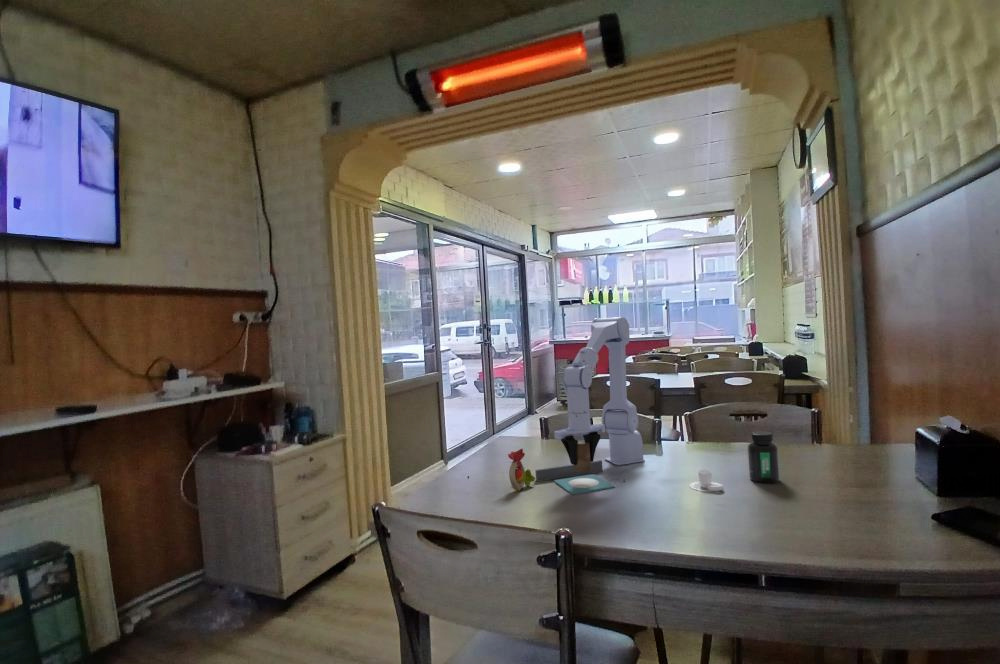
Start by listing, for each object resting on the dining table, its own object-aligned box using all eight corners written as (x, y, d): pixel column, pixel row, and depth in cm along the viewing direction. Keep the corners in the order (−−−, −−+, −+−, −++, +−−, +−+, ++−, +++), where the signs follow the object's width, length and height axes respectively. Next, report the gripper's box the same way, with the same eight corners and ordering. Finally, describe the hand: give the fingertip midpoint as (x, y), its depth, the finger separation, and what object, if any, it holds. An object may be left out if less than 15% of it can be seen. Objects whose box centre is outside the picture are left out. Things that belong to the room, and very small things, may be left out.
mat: (593, 475, 146) (593, 473, 146) (614, 487, 134) (614, 485, 134) (554, 481, 142) (554, 479, 142) (572, 494, 131) (571, 492, 131)
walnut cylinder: (585, 466, 141) (583, 440, 141) (594, 470, 137) (592, 443, 137) (570, 469, 139) (569, 443, 139) (579, 473, 135) (577, 446, 135)
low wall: (601, 470, 150) (600, 460, 150) (602, 471, 149) (602, 460, 149) (536, 480, 144) (535, 469, 144) (537, 481, 144) (536, 470, 143)
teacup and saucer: (727, 494, 125) (726, 477, 125) (692, 494, 126) (691, 477, 126) (719, 483, 133) (718, 467, 133) (687, 483, 135) (686, 467, 135)
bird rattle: (529, 499, 135) (538, 476, 143) (521, 466, 131) (530, 444, 139) (507, 498, 138) (517, 476, 145) (498, 465, 133) (509, 444, 141)
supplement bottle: (772, 485, 127) (769, 437, 127) (744, 480, 133) (742, 433, 133) (784, 479, 132) (781, 432, 132) (757, 474, 137) (754, 429, 137)
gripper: (593, 406, 144) (596, 455, 144) (547, 413, 139) (550, 463, 139) (608, 409, 138) (611, 460, 138) (560, 416, 132) (564, 469, 132)
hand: (582, 462), depth 138 cm, fingers closed on walnut cylinder, 4 cm apart
